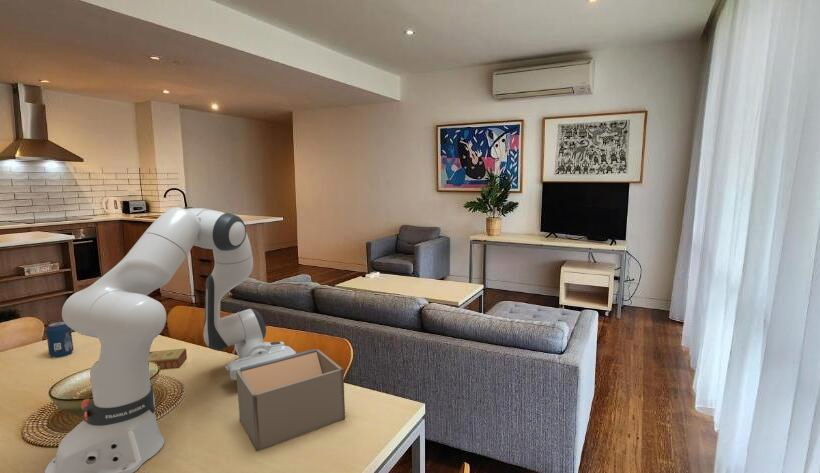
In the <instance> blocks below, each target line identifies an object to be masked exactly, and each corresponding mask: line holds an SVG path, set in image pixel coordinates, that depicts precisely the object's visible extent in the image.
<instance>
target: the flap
mask: <svg viewBox="0 0 820 473" xmlns="http://www.w3.org/2000/svg"><path fill="white" fill-rule="evenodd" d="M316 350H317V349H316V348H313V349H309V350H305V351H301V352H298V353H297V352H296V354H293V355H289V356H285V357H281V358H277V359H273V360H269V361H266V362H262V363H258V364H254V365H250V366H246V367H242V368H240V371H241V373H242V375H243V376H244V377H245V379H246V380H247V382H248V383H249V385H250V386H251V388H252V389H253V390H254V392H255V393H260V392H263V391H266V390H270V389H273V388H277V387H280V386H283V385H287V384H290V383H294V382H297V381H300V380H304V379H307V378H310V377H314V376H317V375H321V374H322V370H321V366H320V363H319V359H318V355H317V351H316Z"/></svg>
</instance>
